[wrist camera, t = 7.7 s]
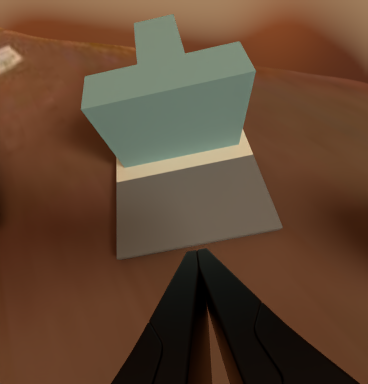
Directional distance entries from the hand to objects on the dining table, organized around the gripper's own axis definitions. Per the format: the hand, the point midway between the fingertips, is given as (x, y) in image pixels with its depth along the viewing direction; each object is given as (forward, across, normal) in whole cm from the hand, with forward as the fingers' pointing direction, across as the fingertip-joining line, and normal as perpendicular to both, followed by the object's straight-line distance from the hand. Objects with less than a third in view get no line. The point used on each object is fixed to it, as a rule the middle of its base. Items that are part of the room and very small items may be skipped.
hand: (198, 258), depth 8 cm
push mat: (+16, 0, -3) cm, 16 cm away
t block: (+18, 0, -6) cm, 19 cm away
